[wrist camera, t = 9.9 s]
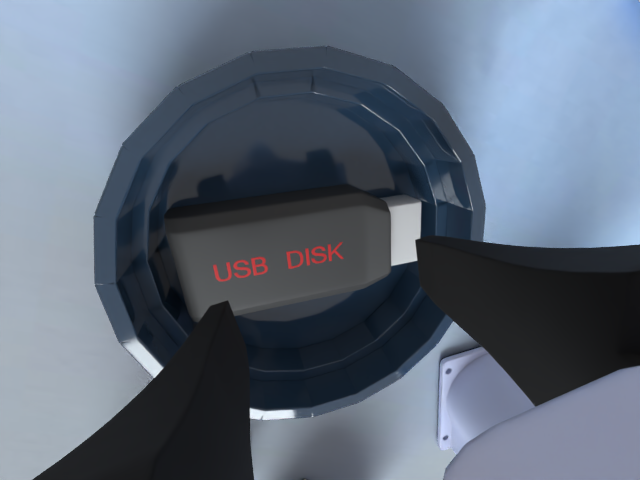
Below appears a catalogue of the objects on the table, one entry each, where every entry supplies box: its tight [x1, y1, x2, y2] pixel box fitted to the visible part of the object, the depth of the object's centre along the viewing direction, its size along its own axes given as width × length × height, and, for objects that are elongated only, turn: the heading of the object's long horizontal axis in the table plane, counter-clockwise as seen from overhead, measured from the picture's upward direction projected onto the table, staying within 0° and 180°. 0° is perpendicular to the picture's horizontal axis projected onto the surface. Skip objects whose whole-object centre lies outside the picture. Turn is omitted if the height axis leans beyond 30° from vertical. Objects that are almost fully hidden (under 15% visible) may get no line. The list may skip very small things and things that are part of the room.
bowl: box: [94, 46, 486, 420], centre depth 15 cm, size 16×16×4 cm
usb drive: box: [164, 184, 421, 322], centre depth 16 cm, size 5×12×3 cm, turn 95°
